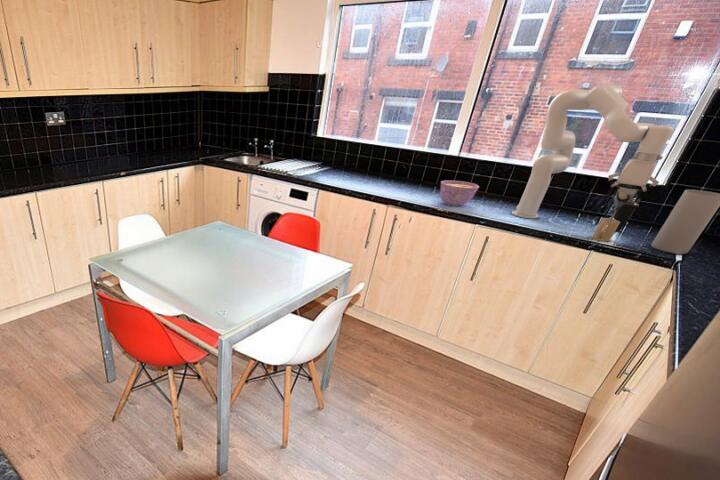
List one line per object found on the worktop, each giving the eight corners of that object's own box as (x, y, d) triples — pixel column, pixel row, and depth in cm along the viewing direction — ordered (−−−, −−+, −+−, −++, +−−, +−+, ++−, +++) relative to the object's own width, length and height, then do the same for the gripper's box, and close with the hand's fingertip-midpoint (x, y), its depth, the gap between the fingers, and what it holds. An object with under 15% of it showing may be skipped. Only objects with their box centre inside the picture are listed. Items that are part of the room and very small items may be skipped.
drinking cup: (619, 229, 216) (642, 189, 206) (626, 233, 210) (650, 192, 199) (601, 227, 218) (623, 187, 208) (607, 231, 212) (630, 190, 201)
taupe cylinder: (694, 254, 187) (734, 196, 174) (673, 255, 185) (711, 197, 171) (663, 244, 197) (699, 189, 184) (643, 245, 195) (677, 189, 181)
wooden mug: (593, 235, 206) (603, 217, 201) (611, 239, 201) (621, 221, 196) (587, 239, 200) (598, 221, 195) (606, 243, 195) (617, 224, 190)
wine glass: (625, 223, 193) (644, 189, 185) (606, 222, 194) (624, 188, 186) (615, 218, 199) (633, 185, 191) (596, 217, 200) (613, 184, 192)
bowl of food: (473, 203, 252) (480, 183, 246) (470, 210, 238) (478, 189, 232) (437, 198, 261) (443, 178, 255) (432, 204, 247) (438, 184, 240)
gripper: (671, 159, 180) (647, 200, 189) (619, 153, 189) (599, 192, 198) (673, 161, 175) (647, 203, 184) (620, 155, 184) (598, 195, 193)
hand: (622, 197), depth 191 cm, fingers open, 9 cm apart
